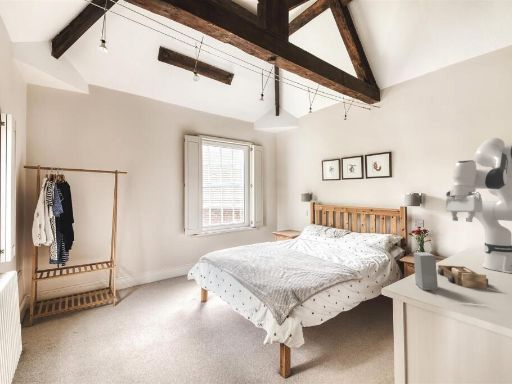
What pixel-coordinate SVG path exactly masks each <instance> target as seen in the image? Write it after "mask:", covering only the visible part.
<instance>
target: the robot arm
mask: <svg viewBox="0 0 512 384" xmlns="http://www.w3.org/2000/svg"><path fill="white" fill-rule="evenodd" d="M473 158H474V160H473V159H471V160H469V159H468V160H458V161H457V162H455V164H454V169H453V177H452V179H453V185H452V188H451V189H450V190H448V191H447V192H446V193H445V197H446V198H445V206H444V207H445V208H444V209H445V210H446V212H450V215H451V217H452V219H451V220H452V221H453V222H458V221H459V217H458V216H457V215H458V213H467V217H465V222H466V223H467V222H468V223H472V222H473V219H474V218H476V220H478V221H479V223H481V225H482V226H483V229H484V236H485V237H484V238H485V242H484V258H483V263H482V265H481V267H482V268H484V269H488V270H491V271H498V272H502V273H507V274H512V232H511V230H510V229H509V228H508V227H505V226H504V225H501V224H500V223H499V221H509V222H512V143H505V142H504V141H503V140H502V139H501V138H499V137H490V138H488V139H486V140H485V141H483V142H482V143H481V144H480V145H479V146H478V147H477V149H476V150H475V151H474V154H473ZM477 164H478V165H479V166H481V167H485V168H480V169H479V168H478V169H477ZM476 189H478V190H481V189H483V190H484V189H487V191H488V192H489V193H490V194H491V195H494V196H496V197H498V200H483V199H482V195H481V194H480V192H479V191H477V190H476Z"/></svg>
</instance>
